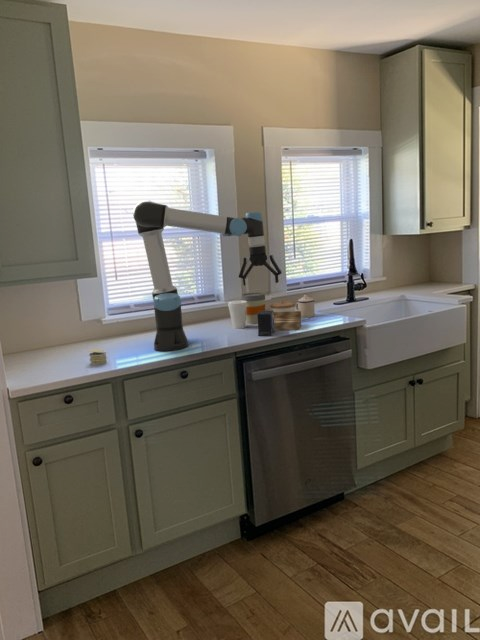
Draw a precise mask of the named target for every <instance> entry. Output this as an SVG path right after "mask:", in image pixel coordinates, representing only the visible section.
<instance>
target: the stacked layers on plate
mask: <svg viewBox="0 0 480 640" xmlns="http://www.w3.org/2000/svg"><path fill="white" fill-rule="evenodd" d="M106 350H107V349H105V348H93V349H89V351H88V353H89V354H88V357H89V362H90V364H95V365H104V364H106V363H107V359H108V357H107V356H106V355H107V353H108V352H107V351H106ZM105 351H106V352H105Z"/></svg>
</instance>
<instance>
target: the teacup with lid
mask: <svg viewBox="0 0 480 640" xmlns="http://www.w3.org/2000/svg"><path fill="white" fill-rule="evenodd" d="M295 309H296V311H301V319H302V318H303V319H307V318H313V317H315V316H316V315H315V314H316V313H315V299H314V298H312V297H309V296H308V294H304V295H303V297H301V298H299V299H298V300H297V302H296V303H295Z"/></svg>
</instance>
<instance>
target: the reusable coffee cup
mask: <svg viewBox="0 0 480 640" xmlns="http://www.w3.org/2000/svg"><path fill="white" fill-rule="evenodd" d="M265 300H266V295H265V292H247V293H243V294H241V301H247V308H246V325H247V324H248V325H258V318H257V314H258V313H259V312H260V311H261V310H266V303H265Z"/></svg>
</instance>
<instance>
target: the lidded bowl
mask: <svg viewBox="0 0 480 640" xmlns="http://www.w3.org/2000/svg"><path fill="white" fill-rule="evenodd" d="M295 309H296V303H294V302H291V301H284V299H283V300H282V299H281V300H280V302H273V303H271V304H270V310H273V312H286V311H296V310H295Z"/></svg>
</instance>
